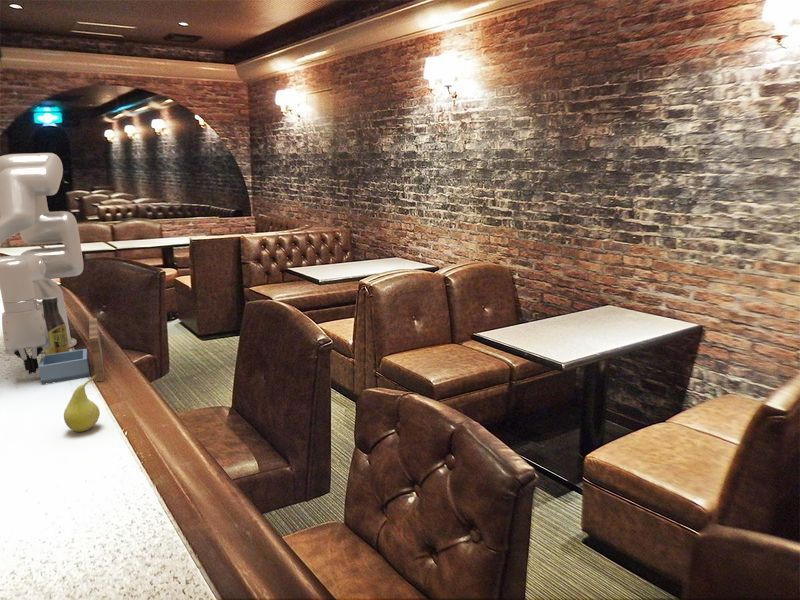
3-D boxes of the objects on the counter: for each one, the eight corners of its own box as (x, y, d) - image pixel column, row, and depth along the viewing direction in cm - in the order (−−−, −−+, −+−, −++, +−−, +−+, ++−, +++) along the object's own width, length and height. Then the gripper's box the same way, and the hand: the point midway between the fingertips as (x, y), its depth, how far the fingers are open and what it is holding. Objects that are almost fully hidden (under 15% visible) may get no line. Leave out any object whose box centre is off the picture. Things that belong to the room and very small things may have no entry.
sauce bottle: (60, 368, 180) (48, 300, 176) (42, 368, 181) (29, 300, 177) (76, 361, 186) (65, 295, 182) (58, 360, 188) (46, 295, 183)
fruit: (67, 427, 140) (58, 375, 137) (104, 420, 143) (96, 369, 140) (65, 438, 134) (55, 385, 131) (104, 431, 137) (95, 379, 134)
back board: (95, 357, 189) (89, 318, 186) (102, 356, 190) (96, 317, 187) (96, 382, 168) (89, 338, 165) (104, 380, 168) (97, 337, 166)
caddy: (44, 372, 177) (41, 355, 176) (89, 365, 182) (86, 348, 181) (41, 384, 168) (38, 366, 166) (89, 376, 172) (86, 359, 171)
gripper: (53, 299, 173) (64, 363, 177) (-11, 307, 167) (2, 373, 171) (51, 305, 167) (63, 371, 171) (-15, 313, 161) (-2, 381, 165)
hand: (32, 371), depth 171 cm, fingers closed
